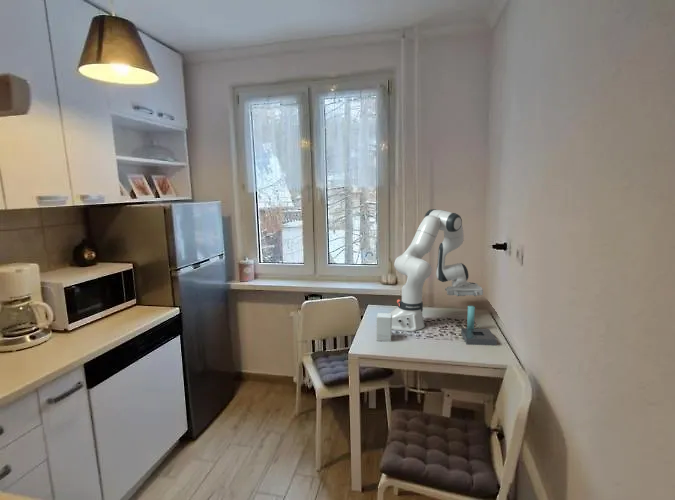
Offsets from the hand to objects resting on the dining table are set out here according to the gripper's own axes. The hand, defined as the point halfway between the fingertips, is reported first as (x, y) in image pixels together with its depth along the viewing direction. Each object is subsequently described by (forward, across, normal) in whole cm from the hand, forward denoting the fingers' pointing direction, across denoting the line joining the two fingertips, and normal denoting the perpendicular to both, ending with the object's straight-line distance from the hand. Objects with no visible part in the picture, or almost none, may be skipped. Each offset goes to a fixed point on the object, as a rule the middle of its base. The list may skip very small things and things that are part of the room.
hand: (466, 294), depth 213 cm
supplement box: (+29, -46, +15) cm, 57 cm away
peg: (+13, 0, +16) cm, 21 cm away
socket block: (+26, 0, +16) cm, 30 cm away
